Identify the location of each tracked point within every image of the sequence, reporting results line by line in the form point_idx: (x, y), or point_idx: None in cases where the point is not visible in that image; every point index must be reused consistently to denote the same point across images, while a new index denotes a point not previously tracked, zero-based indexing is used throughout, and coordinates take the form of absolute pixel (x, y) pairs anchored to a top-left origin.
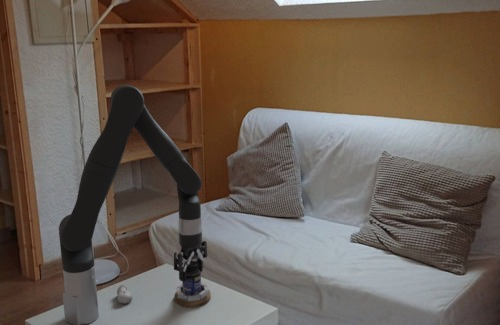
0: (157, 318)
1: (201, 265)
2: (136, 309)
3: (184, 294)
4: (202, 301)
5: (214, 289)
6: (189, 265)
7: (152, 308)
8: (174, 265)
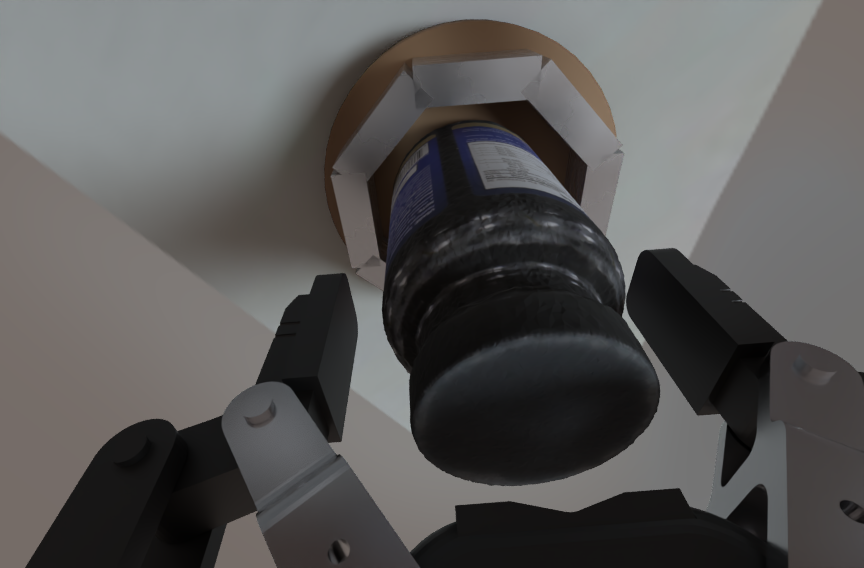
0: (104, 182)
1: (672, 371)
2: None
3: (359, 233)
4: None
5: (652, 212)
6: (462, 442)
7: (118, 21)
8: (56, 546)
